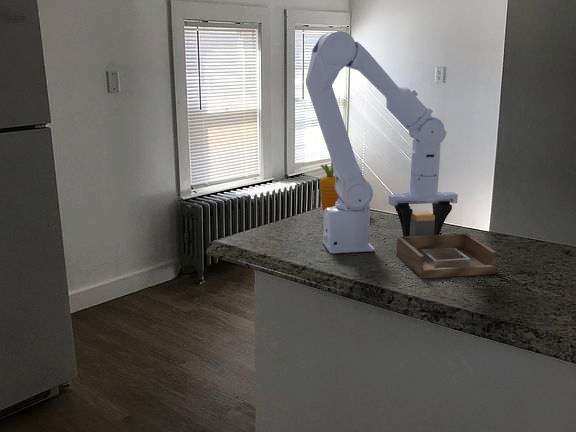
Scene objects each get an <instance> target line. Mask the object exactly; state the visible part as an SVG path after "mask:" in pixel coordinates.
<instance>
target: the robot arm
mask: <svg viewBox="0 0 576 432" xmlns="http://www.w3.org/2000/svg"><path fill="white" fill-rule="evenodd" d="M343 68H349V69H351V70H356V71H358V72H359V73H360V74H361V75H362V76H364V78H366V79H367V81H368V82H369V83H370V84H371V85H373V86H374V87H375V89H377V90H378V92H380V93H381V94H382V95H383V97H385V99H386V100H385V101H386V103H385V104H386V110H388V111H389V112H390V113H391V115H393V116H394V118H395V119H397V120H398V122H399V123H400V124H401V125H402V126H403V127H404V128H405V130H408V133H409V136H410V137H411V138H412V150H411V161H410V162H411V163H410V166H411V167H410V177H409V178H410V179H409V180H410V181H409V192H402V193H397V194H396V193H395V194H388V205H390V206H392V207H394V209H395V211H396V214H397V216H398V219H399V222H400V226H401V230H402V237H407V236H410V222H411V216H412V212H414V210H413V209H412V208H411V205H419V204H420V205H421V204H422V205H423V204H432V205H431V206H432V214H433V215H435V224H434V235H441V231H442V228H443V227H444V226H443V225H444V224H445V221H446V219H447V218H448V216H449V214H450V213H451V212H452V211H453V205H452V204H457V203H458V199H459V198H458V196H459V194H458V193H456V192H455V191H454V192H453V191H452V192H450V191H447V192H445V191H439V189H438V188H439V176H440V163H441V162H440V160H441V144H442V143H443V141H444V140H445V139H446V136H447V131H446V129H445V125H444V123H443V122H442V120H441V119H439V118H438V117H433V116H432V113H433V109H431V108H430V107H427V106H426V105H424V104H423V103H422V100H420V99H419V98H418V95H419V93H418V92H417V91H416V90H415V89H411V88H409V87H404V86H403V87H399V86H398V85H397V84H396V82H395V81H394V80H393V79H392V77H390V75H389V74H388V73H387V72H386V71H385V69H384V68H383V67H382V66H381V65H380V64H379V63H378V62H377V60H376V59H375V58H374V56H372V54H371V53H370V52H369V51H368V50H367V49H366V48H365V47H364V46H363V45H362V44H361V43H360V42H359V41H355V39H354V37H353V36H352V35H351V34H350V33H348V32H346V31H344V30H337V31H331V32H330V31H329V32H325V33H324V34H323V35H321V36H320V37H319V38H318V40H317V41H316V43H315V45H314V46H313V48H312V49H311V56H310V61H309V65H308V69H307V73H306V79H305V85H306V88H307V92H308V95H309V99H310V101H311V103H312V107H313V110H314V112H315V115H316V119H317V121H318V124H319V126H320V127H319V128H320V131H321V134H322V136H323V139H324V143H325V145H326V149H327V151H328V154H329V156H330V159H331V161H332V163H333V171H334V174H333V175H334V176H335V191H336V193H337V194H338V196H339V198H338V200H337V201H336V203H335V206H334V207H329V208H325V210H324V212H323V226H322V227H323V228H322V229H323V231H322V233H323V234H322V237H323V238H322V241H321V242H322V244H323V245H324V247H325V248H326V249H327V251H328V252H329V254H344V253H345V254H347V253H365V252H375V250H376V249H375V247H374V246H373V245H372V244H371V243H370V222H371V221H370V219H371V218H370V217H371V214H370V213H371V201H372V200H373V196H374V191H373V187H372V185H371V184H370V183H369V182H368V181H367V180H366V179H365V177H364V175H363V174H364V173H363V171H362V169H361V167H360V165H359V163H358V161H357V158H356V157H355V156H356V155H355V151H354V149H353V146H352V143H351V140H350V137H349V134H348V132H347V131H348V130H347V128H346V125H345V122H344V119H343V115H342V113H341V109H340V106H339V104H338V103H339V102H338V101H337V97H336V94H335V91H334V88H333V84H334V83H335V81H336V79H337V77H338V76H339V74H340V71H342V70H343Z"/></svg>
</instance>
